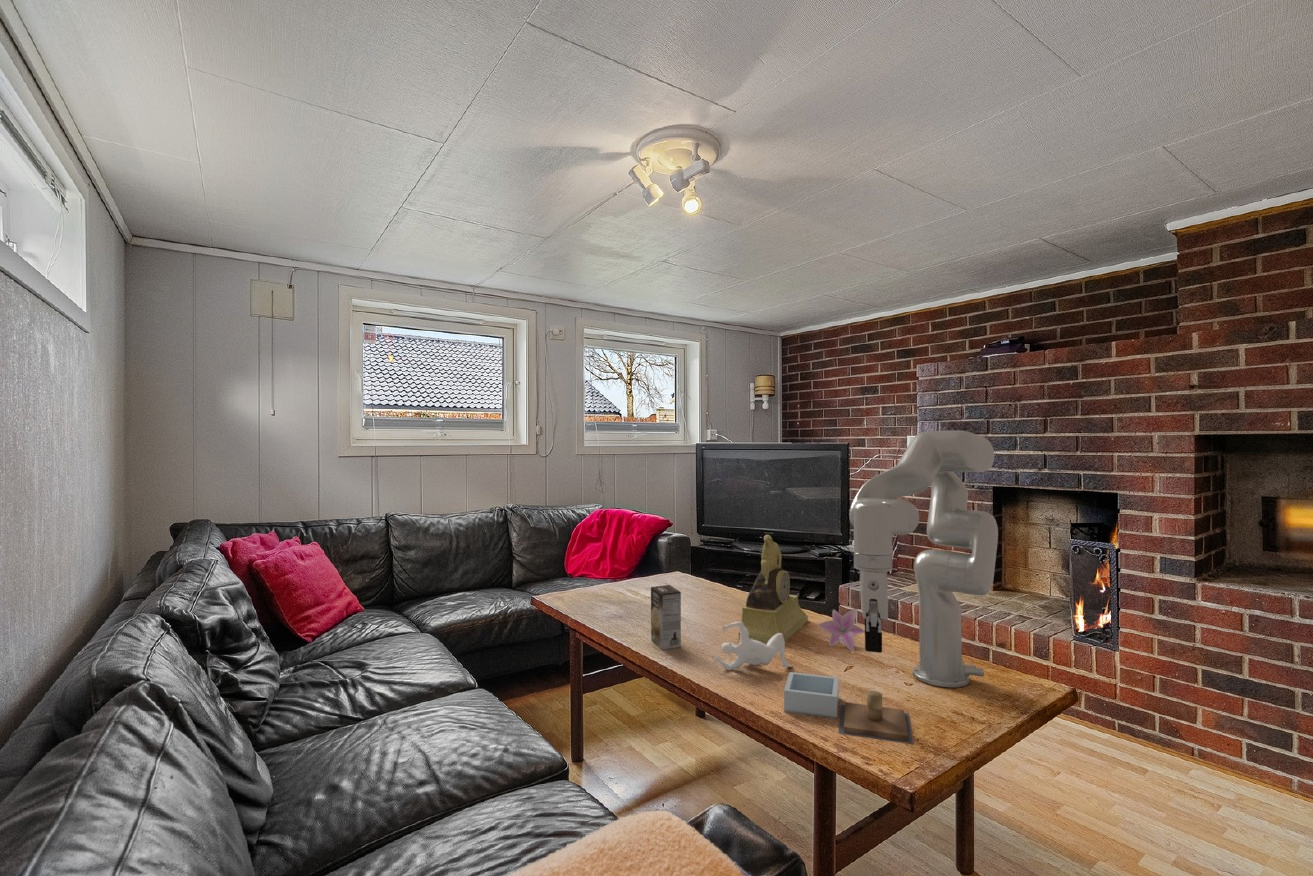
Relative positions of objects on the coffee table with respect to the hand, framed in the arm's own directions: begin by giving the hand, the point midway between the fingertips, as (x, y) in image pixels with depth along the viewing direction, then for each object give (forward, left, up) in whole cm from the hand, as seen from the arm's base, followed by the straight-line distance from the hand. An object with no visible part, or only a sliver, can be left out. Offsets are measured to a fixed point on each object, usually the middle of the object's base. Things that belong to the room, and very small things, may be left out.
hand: (873, 644), depth 125 cm
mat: (0, 0, -17) cm, 17 cm away
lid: (0, 0, -16) cm, 16 cm away
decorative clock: (+28, -58, -17) cm, 67 cm away
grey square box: (+13, -5, -17) cm, 22 cm away
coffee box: (+57, -35, -17) cm, 69 cm away
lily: (+8, -50, -17) cm, 53 cm away
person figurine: (+29, -24, -17) cm, 41 cm away
